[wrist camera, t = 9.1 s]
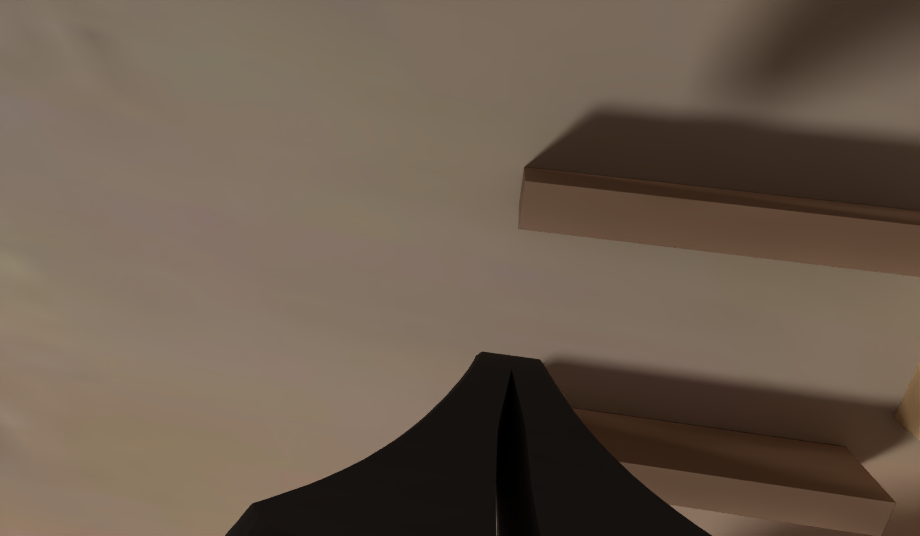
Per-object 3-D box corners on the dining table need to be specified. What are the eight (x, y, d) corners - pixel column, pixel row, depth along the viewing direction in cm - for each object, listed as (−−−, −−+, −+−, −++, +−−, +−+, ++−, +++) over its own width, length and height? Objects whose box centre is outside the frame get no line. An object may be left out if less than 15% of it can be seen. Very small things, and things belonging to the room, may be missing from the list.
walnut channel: (833, 477, 21) (880, 536, 19) (489, 427, 22) (485, 475, 20) (940, 212, 18) (1019, 236, 15) (524, 166, 19) (524, 181, 16)
